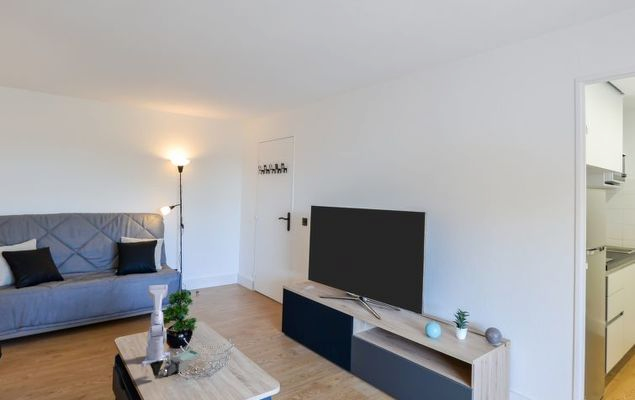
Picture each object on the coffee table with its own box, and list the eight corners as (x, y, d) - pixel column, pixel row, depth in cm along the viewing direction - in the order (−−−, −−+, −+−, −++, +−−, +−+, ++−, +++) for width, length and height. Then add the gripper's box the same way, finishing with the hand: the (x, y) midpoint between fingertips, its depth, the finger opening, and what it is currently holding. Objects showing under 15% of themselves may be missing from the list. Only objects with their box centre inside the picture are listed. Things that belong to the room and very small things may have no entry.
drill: (165, 378, 180) (166, 369, 180) (160, 375, 183) (160, 366, 183) (184, 370, 190) (184, 361, 190) (178, 367, 192) (178, 358, 192)
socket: (169, 369, 189) (169, 358, 189) (178, 365, 194) (179, 354, 194) (178, 374, 185) (179, 362, 185) (188, 369, 190) (188, 358, 190)
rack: (168, 362, 198) (168, 358, 198) (190, 352, 211) (190, 349, 211) (177, 366, 193) (177, 362, 193) (199, 355, 206) (199, 352, 206)
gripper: (147, 355, 170) (147, 383, 170) (174, 345, 182) (173, 371, 182) (139, 352, 174) (138, 379, 174) (165, 342, 186) (165, 367, 186)
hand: (155, 375), depth 178 cm, fingers closed
